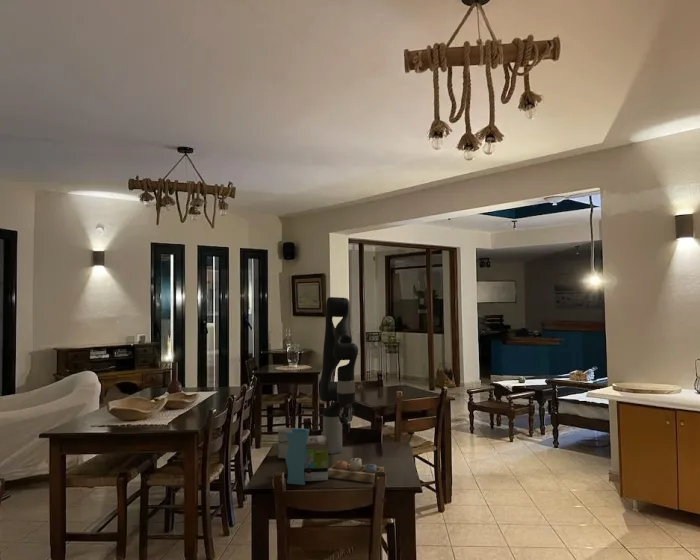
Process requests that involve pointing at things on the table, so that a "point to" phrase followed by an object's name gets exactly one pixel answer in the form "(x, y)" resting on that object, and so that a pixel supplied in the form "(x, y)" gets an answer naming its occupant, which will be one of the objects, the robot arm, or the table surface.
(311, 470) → the tea box
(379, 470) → the button board
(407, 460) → the table surface
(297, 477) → the vase
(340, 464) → the pink rounded block
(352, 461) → the white rounded block
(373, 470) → the slate button
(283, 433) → the supplement box
